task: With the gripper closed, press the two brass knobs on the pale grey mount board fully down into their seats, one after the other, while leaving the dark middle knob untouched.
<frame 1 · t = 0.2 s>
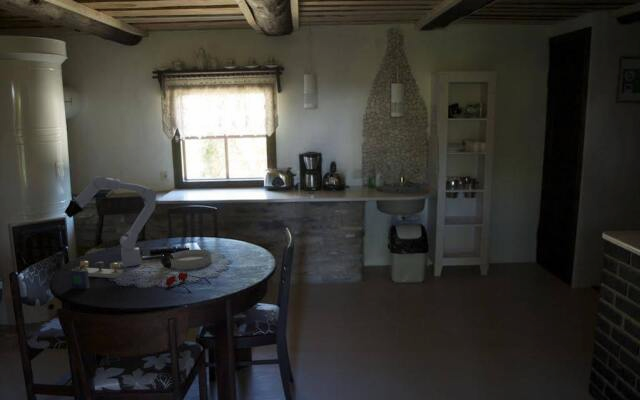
hand: (67, 215, 255), 31 cm above the table, tool tilted 45°, fingers open, 7 cm apart
brass knob 1: (114, 267, 256), point 5 cm above the table, slide at 0.0 cm
mount board: (100, 274, 259), on the table
dish: (191, 263, 276), on the table
graphite knob: (99, 266, 258), point 5 cm above the table, slide at 0.0 cm
flask: (80, 288, 239), on the table
brass knob 2: (84, 265, 260), point 4 cm above the table, slide at 0.0 cm
glasses: (188, 286, 239), on the table
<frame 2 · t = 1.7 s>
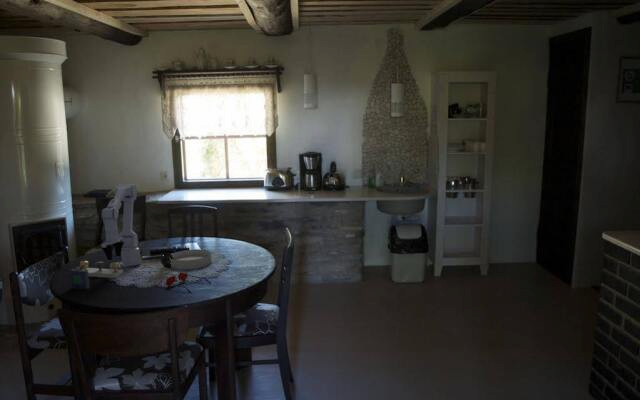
hand: (114, 257, 255), 9 cm above the table, tool pointing down, fingers open, 6 cm apart
nothing on the table moved.
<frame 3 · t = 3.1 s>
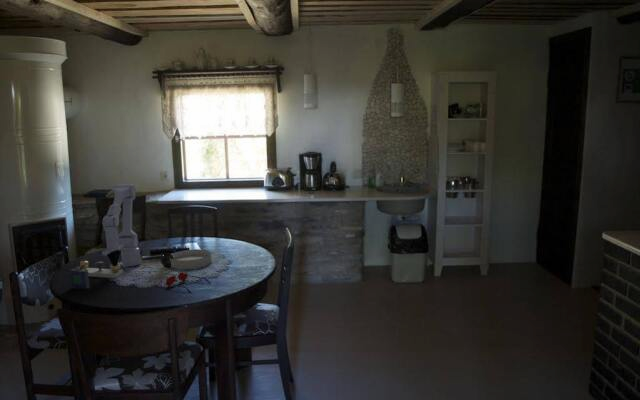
hand: (114, 265, 256), 5 cm above the table, tool pointing down, fingers closed, pressing on brass knob 1
brass knob 1: (115, 269, 256), point 3 cm above the table, slide at 1.1 cm, touching gripper
everything else where it was.
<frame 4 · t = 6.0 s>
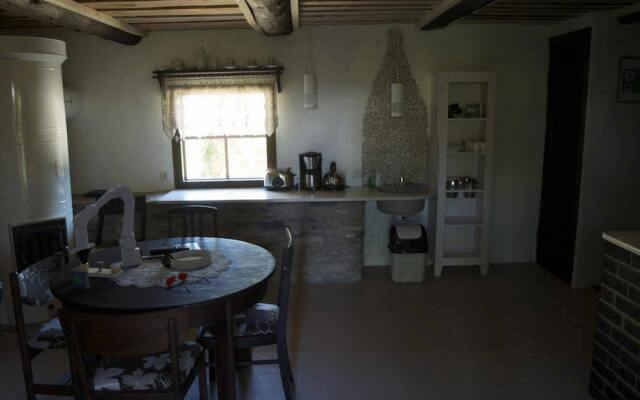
hand: (84, 263, 260), 5 cm above the table, tool pointing down, fingers closed, pressing on brass knob 2
brass knob 1: (115, 270, 256), point 3 cm above the table, slide at 1.9 cm
brass knob 2: (84, 267, 261), point 3 cm above the table, slide at 1.2 cm, touching gripper
everything else where it was.
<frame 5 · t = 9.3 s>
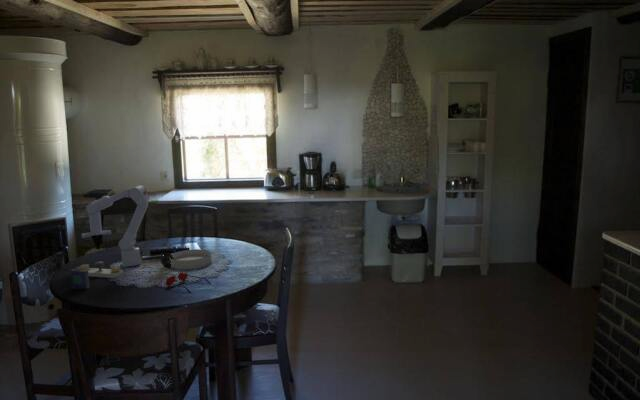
hand: (98, 248, 274), 9 cm above the table, tool pointing down, fingers closed
brass knob 2: (85, 268, 261), point 3 cm above the table, slide at 1.9 cm
everything else where it was.
at the end: brass knob 1 slide at 1.9 cm; brass knob 2 slide at 1.9 cm; graphite knob slide at 0.0 cm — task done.
